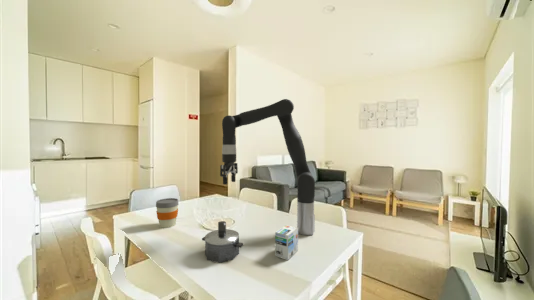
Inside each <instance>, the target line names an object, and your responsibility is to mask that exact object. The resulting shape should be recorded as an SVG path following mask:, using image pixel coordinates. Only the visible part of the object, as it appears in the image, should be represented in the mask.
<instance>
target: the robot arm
mask: <svg viewBox="0 0 534 300" xmlns="http://www.w3.org/2000/svg"><path fill="white" fill-rule="evenodd" d="M294 108H295V105H294V103H293V101H291V100H290V99H287V98H283V99H280V100H279V101H277V102H274V103H271V104H269V105H266V106H263V107H260V108H259V107H258V108H255V109H251V110H247V111H243V112H240V113H239V114H235V115H226V116H224V117H223V119H222V121H221V122H222V123H221V125H222V126H221V127H222V129H221V130H222V148H221V162H222V163H224V164H220V165H219V166H220V170H219V171H220V172H219V176H220V177H222V184H223V185H228V175H229V174H231V175H230V176H231V177H230V179H231V180H230V181H231V183H236V175H237V174H238V172H239V171H238V169H239V167H238V166H239V165H238V162H237V146H236V145H237V144H236V143H237V142H236V140H237V139H236V129H237V128H239V127H240V128H241V127H242V126H243V127H244V126H247V125H250V124H255V123H258V122H261V121H263V120H265V119H268V118H272V117H277V119H278V120H279V124H280V126H281V130H282V134H283V138H284V141H285V145H286V146H285V147H286V149H287V151H288V154H289V157H290V159H291V162H292V164H293V166H294V170H295V174H296V181H297V195H296V196H297V197H296V198H297V200H296V201H297V202H296V203H297V205H296V206H297V207H296V208H297V213H296V216H297V217H296V218H297V219H296V220H297V221H296V222H297V224H296V226H297V227H296V228H298V234H300V235H303V236H310V235H311V236H314V233H315V231H316V230H315V229H316V228H315V226H316V225H315V223H316V222H315V221H316V220H315V219H316V215H315V196H316V194H315V193H316V190H315V189H316V186H315V185H316V181H315V178H314V176H313V174H312V173H311V171H310V168H309V166H308V163H307V158H306V157H307V156H306V155H307V154H306V149H305V146H304V143H303V140H302V137H301V134H300V132H299V130H298V129H297V127H296V125H295V124H294V120H293V115H292V113H293V112H294Z"/></svg>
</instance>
